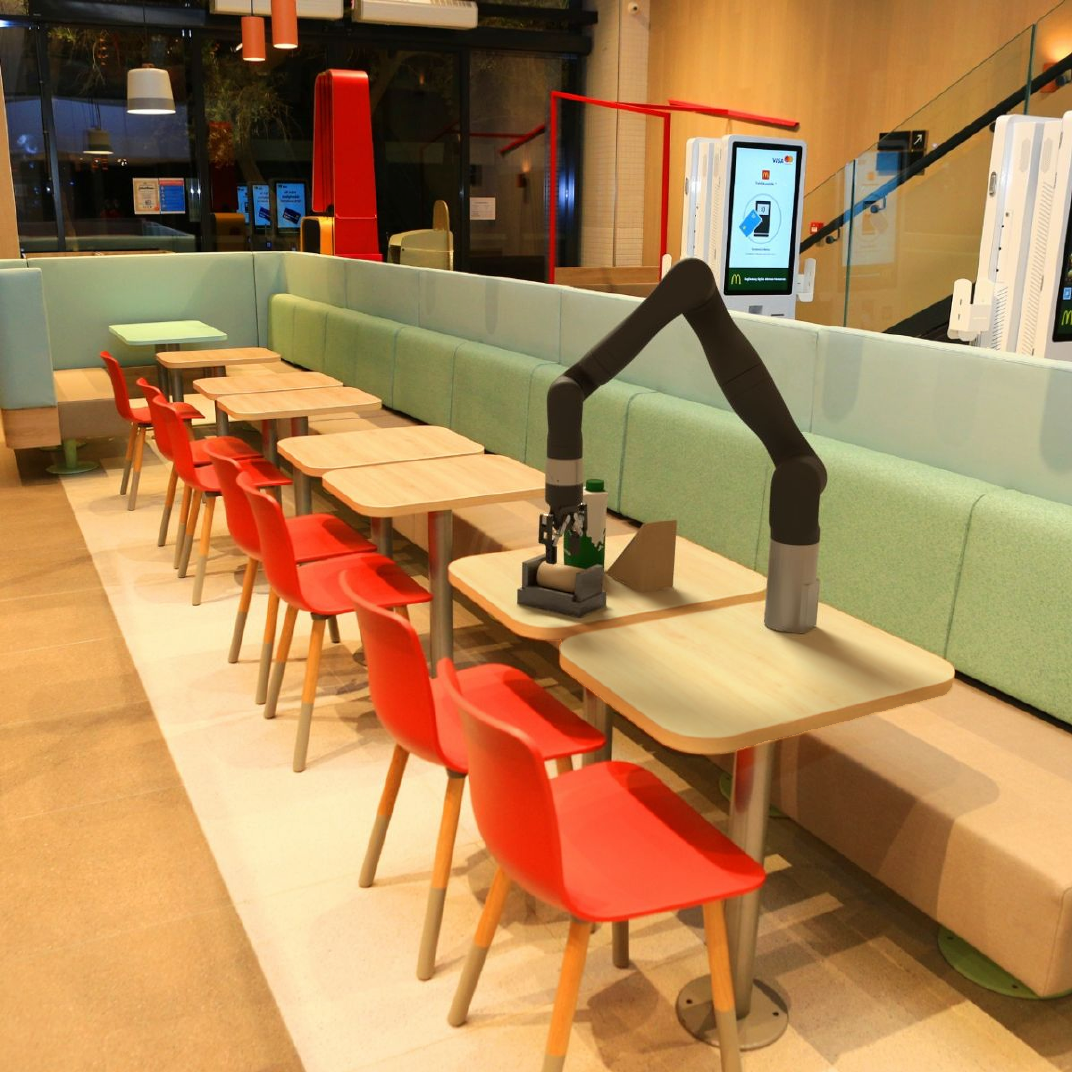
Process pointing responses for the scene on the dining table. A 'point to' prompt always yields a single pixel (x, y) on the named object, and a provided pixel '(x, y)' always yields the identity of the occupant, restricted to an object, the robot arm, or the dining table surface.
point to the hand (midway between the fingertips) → (563, 559)
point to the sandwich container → (648, 557)
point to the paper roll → (557, 576)
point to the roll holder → (559, 601)
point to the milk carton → (590, 529)
